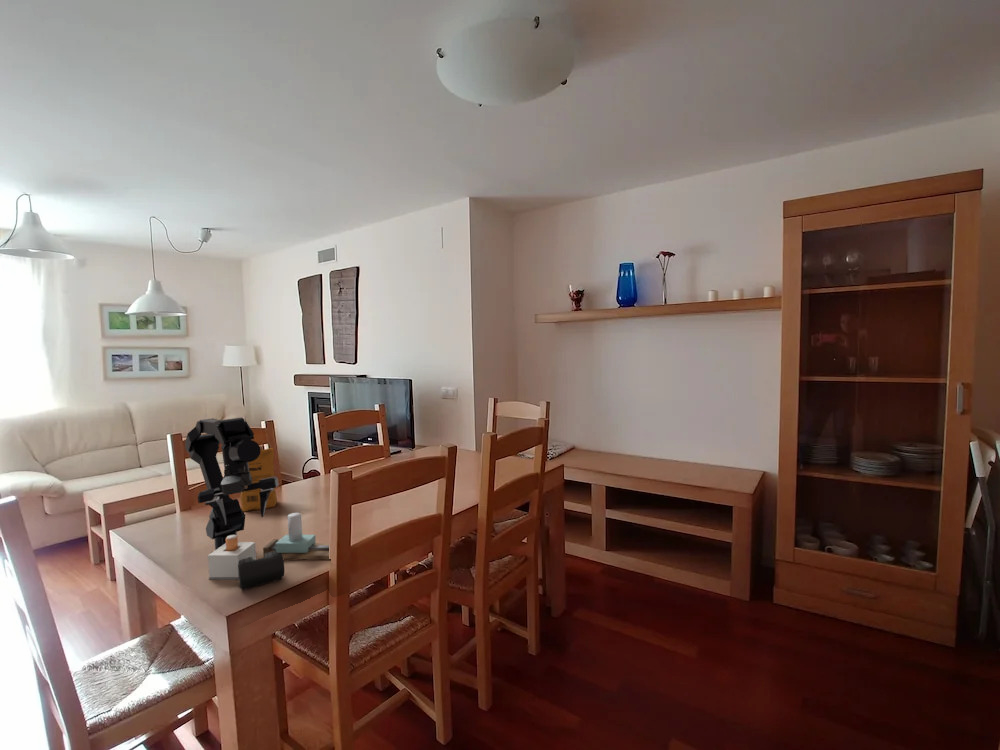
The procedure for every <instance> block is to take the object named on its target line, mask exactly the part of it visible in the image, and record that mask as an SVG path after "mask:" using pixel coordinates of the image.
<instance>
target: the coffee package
mask: <svg viewBox="0 0 1000 750" xmlns="http://www.w3.org/2000/svg"><path fill="white" fill-rule="evenodd" d="M274 453H275V452H274V448H273V447H270V448H266V449H261V452H260V455H259V457H258V458H257V459H256V460H254V461H252V462H248V465H249V472H250V473H251V476H252V483H256V482H259V480H261V479H264V478H269V477H274V476H275V475H276V472H275V465H274ZM275 477H276V476H275ZM245 487H248V486H245ZM244 489H246V488H244ZM261 491H262V490H261V488H259V489H254V490H249V491H244V492H240V493H239V495H240V507H241V509H242V510H243V512H248V511H252V510H253V511H254V510H256V511H259V510H258V509H260V495H259V492H261ZM277 502H278V496H277V493H276V487H275V488H274V490H273V491H271V492H270V494H269V497H268V499H267V503H266V509H269V508H274V507H276V505H277Z"/></svg>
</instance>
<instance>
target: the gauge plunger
mask: <svg viewBox="0 0 1000 750" xmlns="http://www.w3.org/2000/svg"><path fill="white" fill-rule="evenodd" d="M238 542H239V538H238V534H237V535H230V536H227V537H226V551H235V550H237V549H238Z"/></svg>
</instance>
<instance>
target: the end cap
mask: <svg viewBox="0 0 1000 750" xmlns="http://www.w3.org/2000/svg"><path fill="white" fill-rule="evenodd" d="M264 556H265V557H264ZM284 562H285V561H284V560H283V556H282V554H281V553H280V554H278V553H277V552H276V551H272V552H269V553H265V554H264V555H263V557H262V558H258V559H257V558H256V560H253V559H252V557H249V558H245V559H241V560H240V561H239V565H238V573H239V574H238V575H239V580H238V588H239V589H240V590H242V591H243V590H244V591H245V590H248V589H251V588H254V587H258V586H261V585H264V584H268V583H271V582H275V581H276V582H277V581H279V580H281V579H282V578H283V577H284V576H285V563H284Z"/></svg>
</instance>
